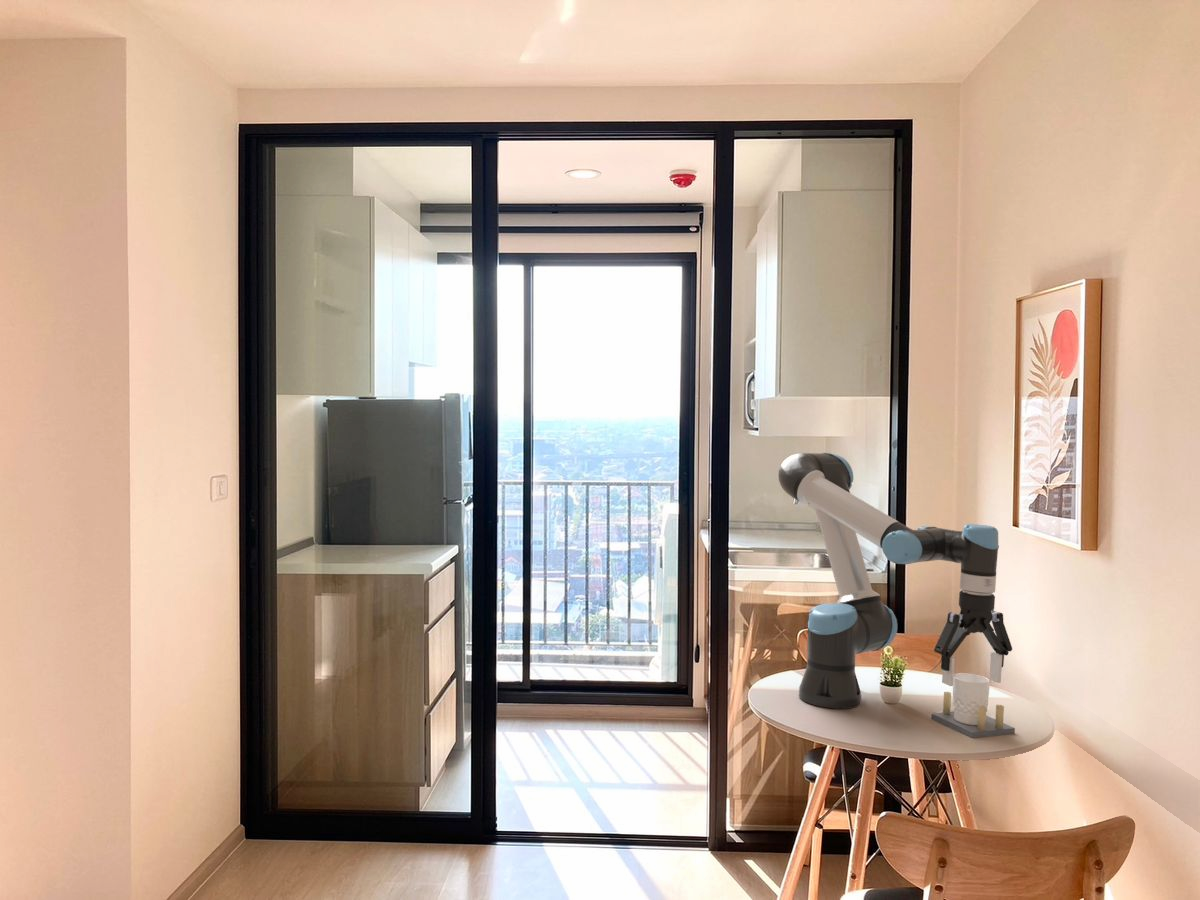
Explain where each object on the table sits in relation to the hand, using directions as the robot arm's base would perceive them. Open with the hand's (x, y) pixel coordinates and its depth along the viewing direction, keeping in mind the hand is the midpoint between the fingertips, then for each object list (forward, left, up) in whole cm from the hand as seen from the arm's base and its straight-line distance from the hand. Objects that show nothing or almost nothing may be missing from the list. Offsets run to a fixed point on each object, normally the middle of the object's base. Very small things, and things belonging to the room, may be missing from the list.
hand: (971, 682), depth 193 cm
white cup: (-1, -1, -9) cm, 9 cm away
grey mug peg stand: (0, -1, -10) cm, 10 cm away
